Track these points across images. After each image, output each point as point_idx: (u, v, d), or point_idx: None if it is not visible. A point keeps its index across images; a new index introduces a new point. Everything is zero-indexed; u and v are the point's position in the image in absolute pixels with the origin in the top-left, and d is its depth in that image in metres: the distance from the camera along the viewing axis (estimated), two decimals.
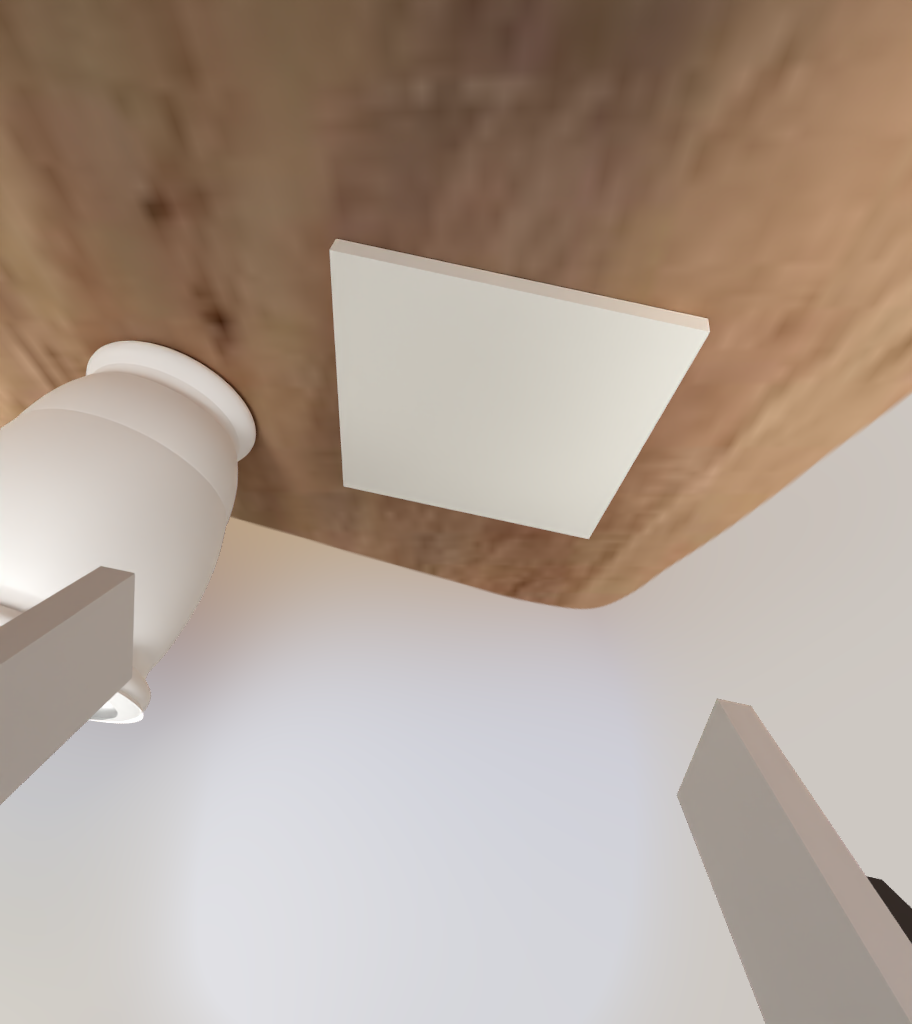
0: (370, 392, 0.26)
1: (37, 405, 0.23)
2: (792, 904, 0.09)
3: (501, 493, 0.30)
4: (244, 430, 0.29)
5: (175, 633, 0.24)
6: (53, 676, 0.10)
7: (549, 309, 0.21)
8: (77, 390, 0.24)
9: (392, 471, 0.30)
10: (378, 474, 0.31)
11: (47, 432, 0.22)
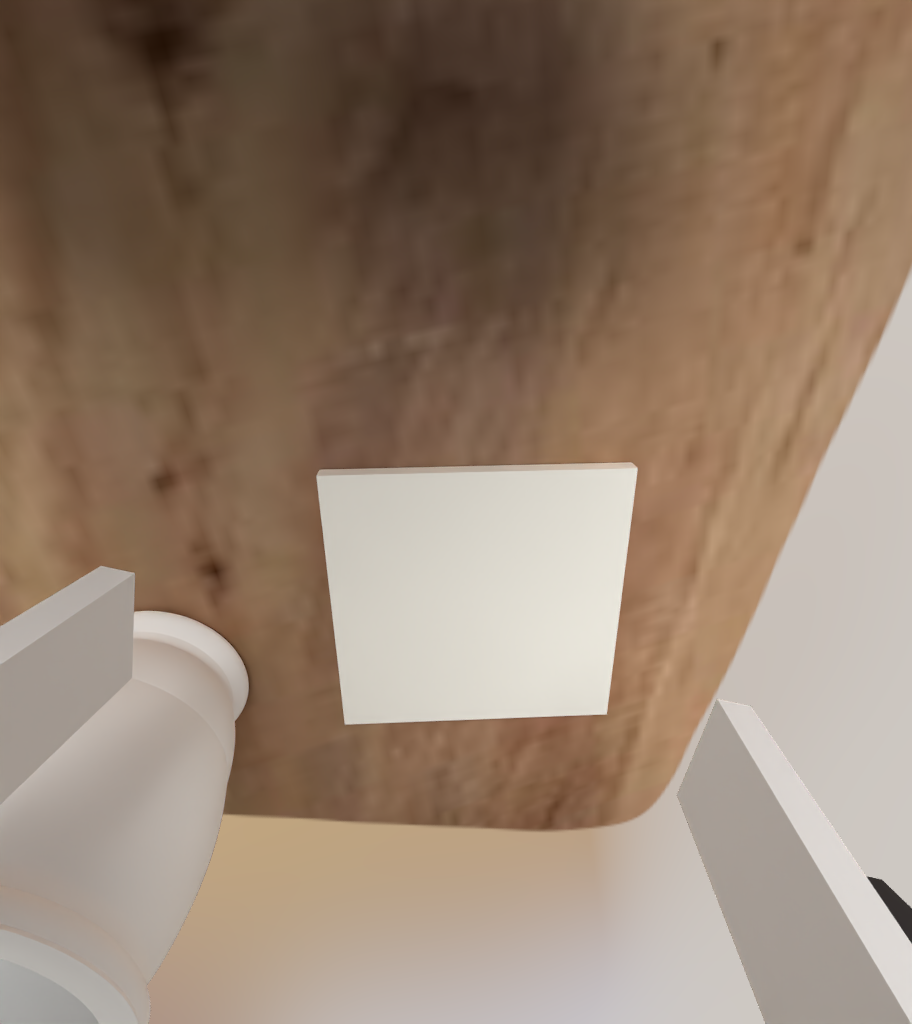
0: (362, 602, 0.27)
1: None
2: (792, 904, 0.09)
3: (507, 682, 0.30)
4: (238, 681, 0.29)
5: (179, 918, 0.19)
6: (53, 676, 0.10)
7: (506, 481, 0.25)
8: None
9: (394, 689, 0.29)
10: (380, 698, 0.30)
11: None
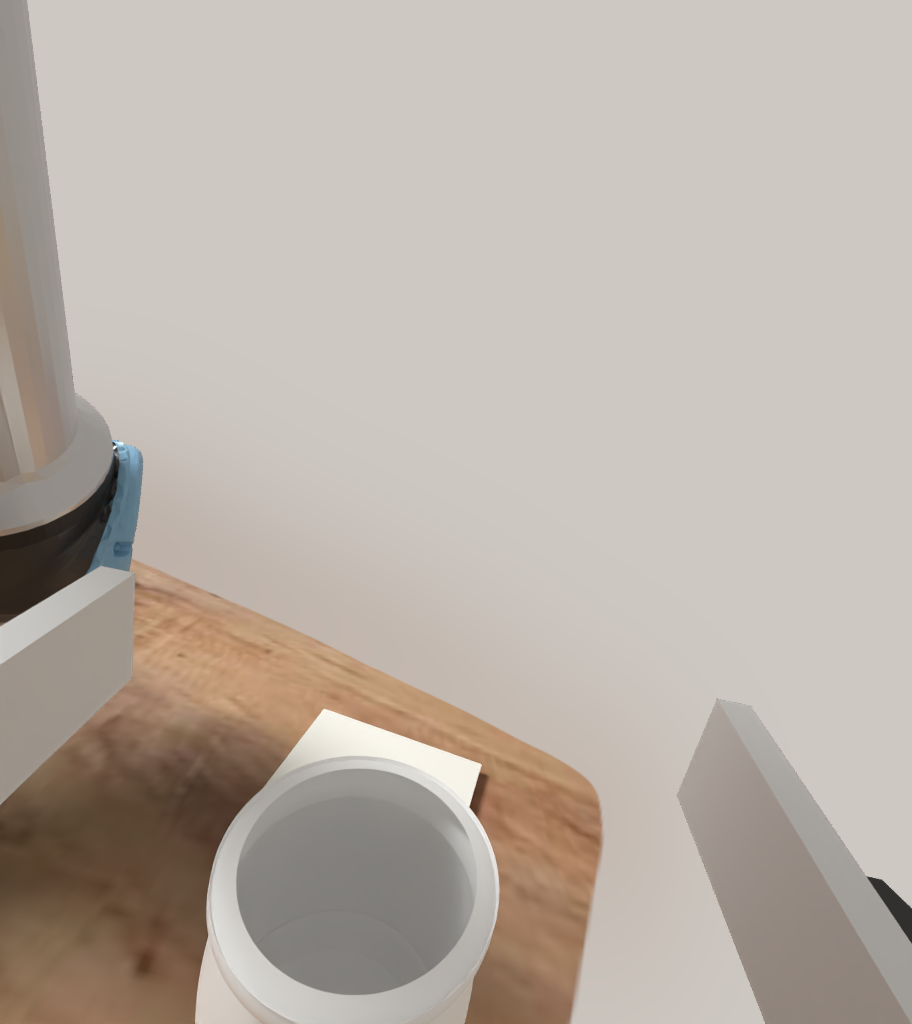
0: None
1: None
2: (792, 904, 0.09)
3: None
4: None
5: (412, 830, 0.26)
6: (53, 676, 0.10)
7: (295, 755, 0.43)
8: None
9: None
10: None
11: None
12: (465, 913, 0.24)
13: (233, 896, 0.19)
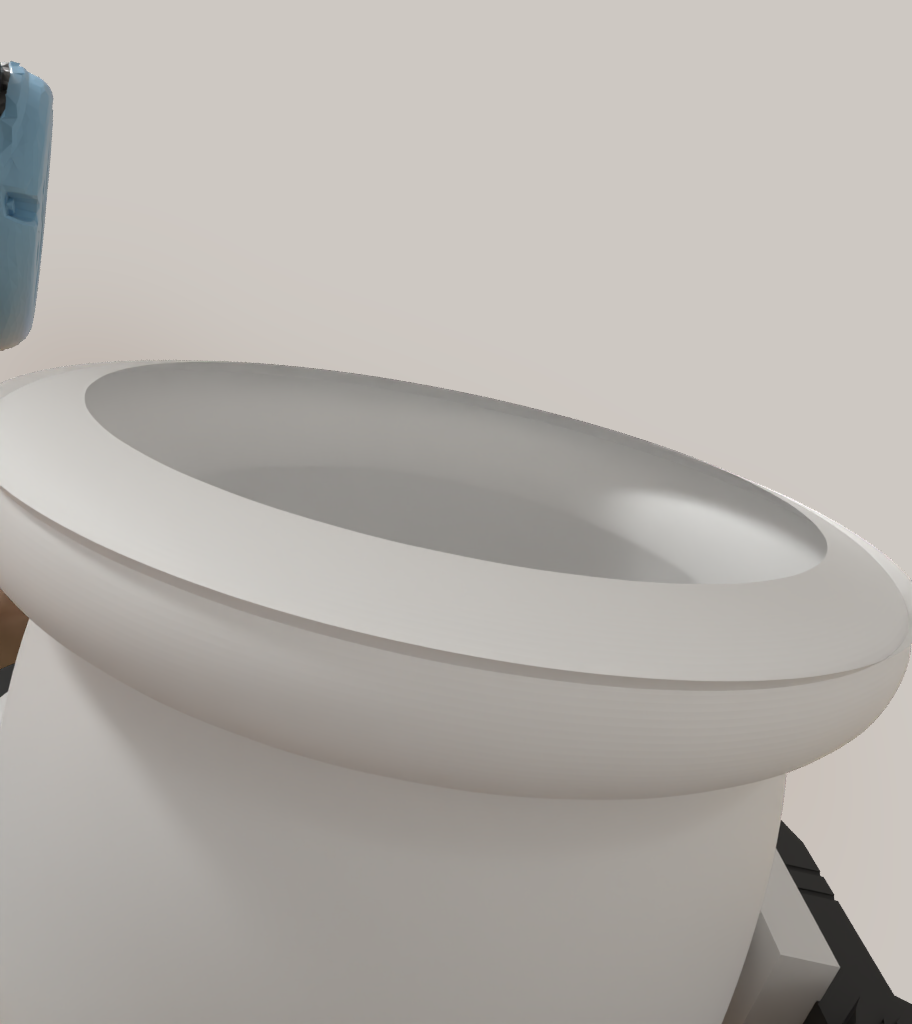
0: None
1: None
2: None
3: None
4: None
5: (523, 555, 0.13)
6: None
7: None
8: None
9: None
10: None
11: None
12: None
13: (74, 388, 0.06)
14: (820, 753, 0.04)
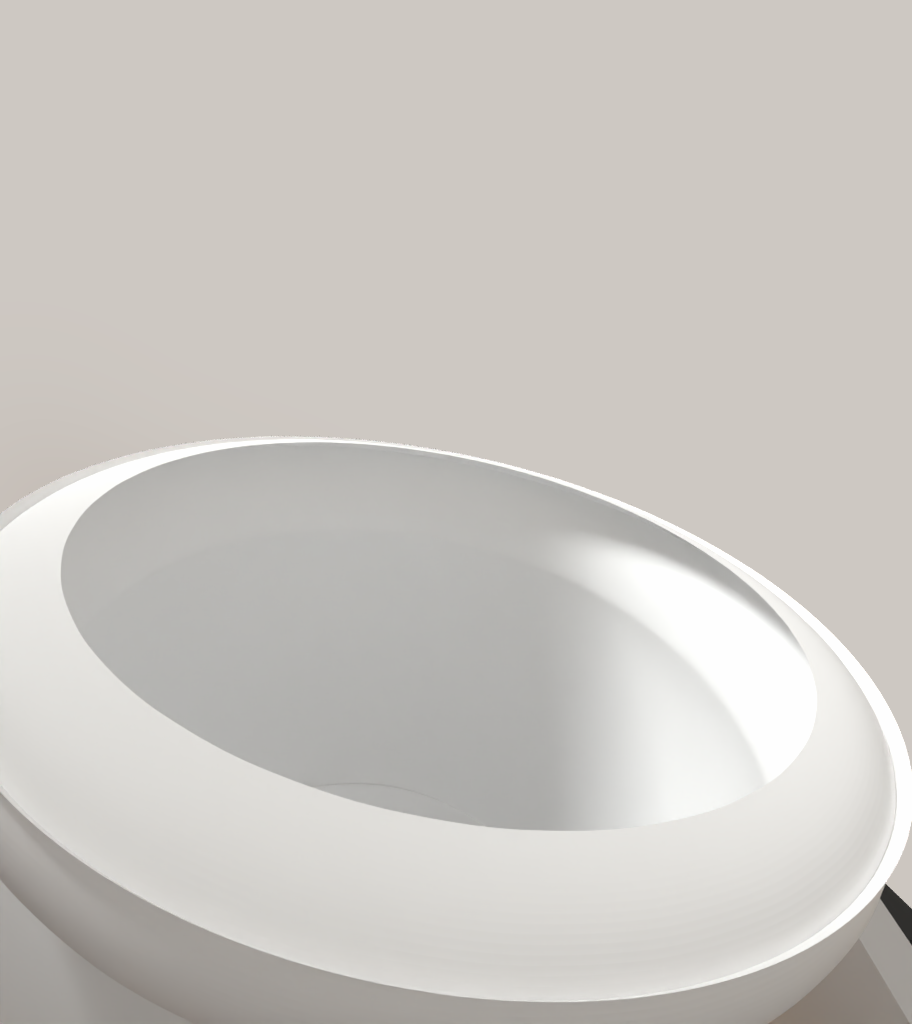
0: None
1: None
2: None
3: None
4: None
5: (519, 612, 0.13)
6: None
7: None
8: None
9: None
10: None
11: None
12: (654, 755, 0.11)
13: (52, 545, 0.05)
14: None
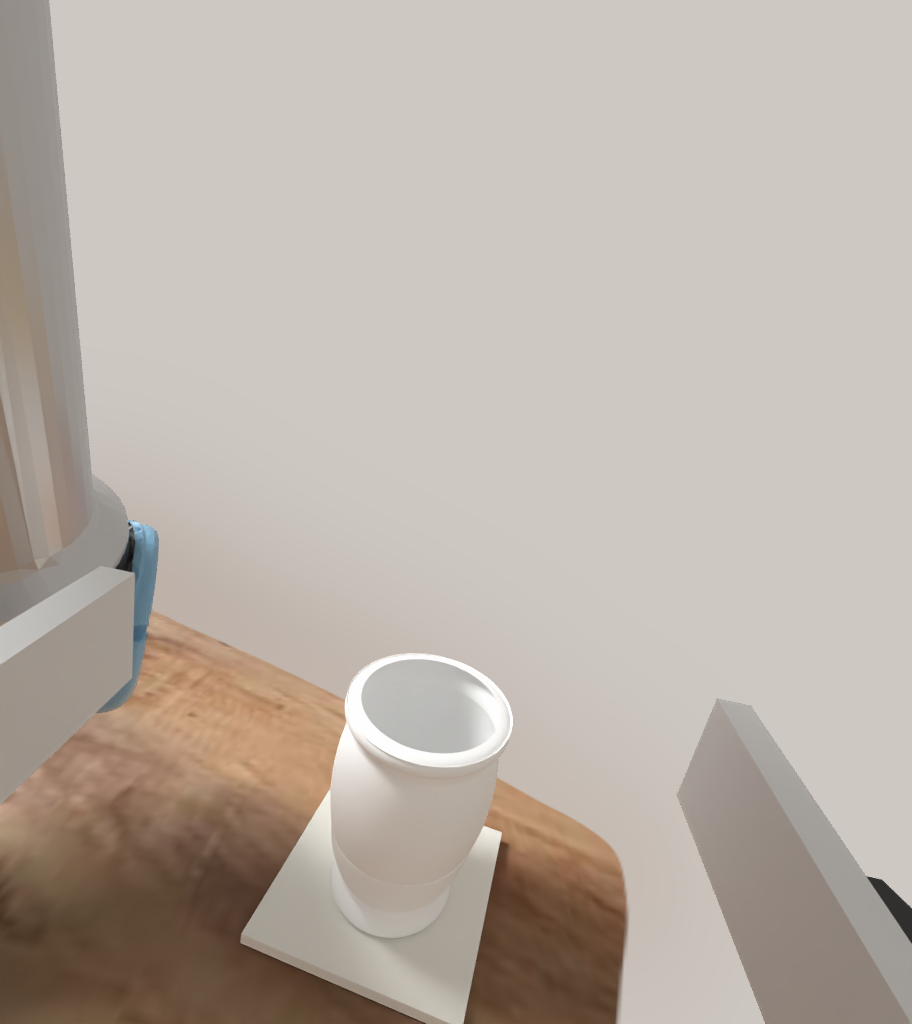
0: (350, 950, 0.35)
1: (331, 826, 0.37)
2: (792, 904, 0.09)
3: (457, 880, 0.41)
4: None
5: (453, 703, 0.41)
6: (53, 676, 0.10)
7: (312, 829, 0.42)
8: None
9: (437, 964, 0.35)
10: (442, 980, 0.34)
11: None
12: None
13: (362, 712, 0.33)
14: (468, 773, 0.31)
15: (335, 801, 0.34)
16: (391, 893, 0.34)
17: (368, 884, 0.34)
